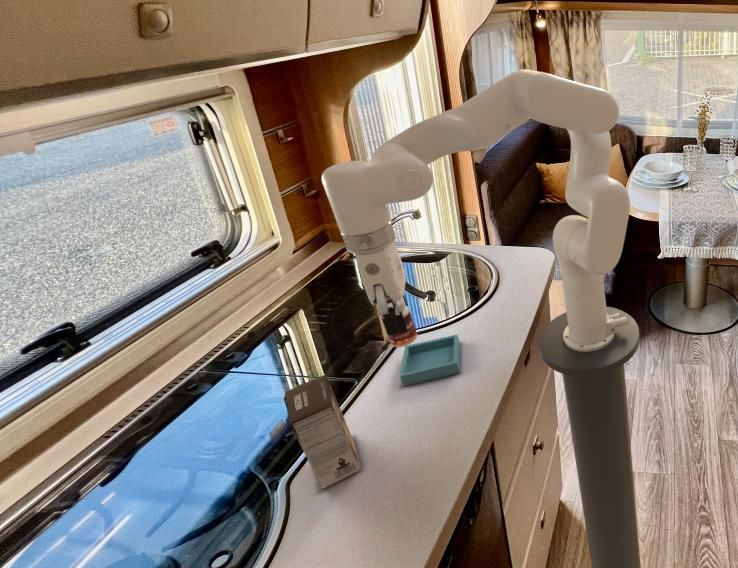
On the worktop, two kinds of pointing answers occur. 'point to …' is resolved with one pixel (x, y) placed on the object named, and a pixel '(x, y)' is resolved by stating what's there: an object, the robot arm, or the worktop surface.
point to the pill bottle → (411, 333)
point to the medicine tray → (430, 360)
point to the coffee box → (322, 431)
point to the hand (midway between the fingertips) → (399, 322)
